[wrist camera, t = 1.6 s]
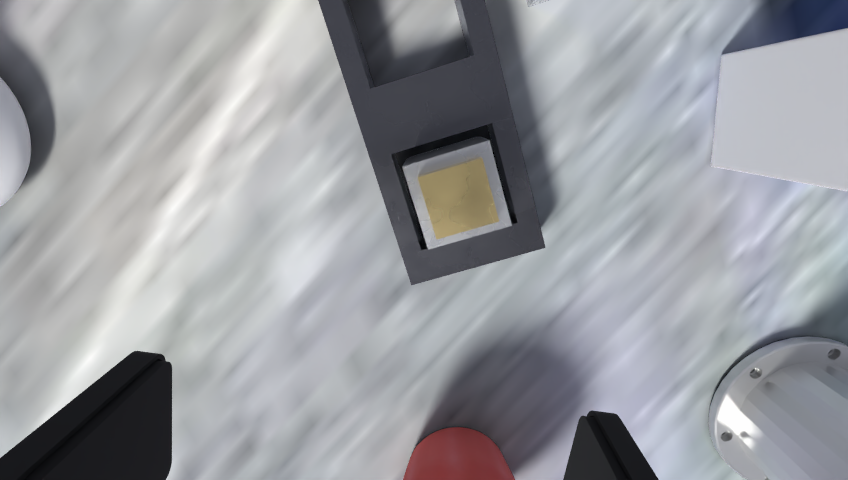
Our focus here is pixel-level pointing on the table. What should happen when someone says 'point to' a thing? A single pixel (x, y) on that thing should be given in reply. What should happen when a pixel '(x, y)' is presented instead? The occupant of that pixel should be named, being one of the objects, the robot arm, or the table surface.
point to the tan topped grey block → (457, 192)
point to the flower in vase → (12, 144)
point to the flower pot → (457, 457)
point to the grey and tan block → (535, 2)
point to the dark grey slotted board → (439, 137)
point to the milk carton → (786, 111)
